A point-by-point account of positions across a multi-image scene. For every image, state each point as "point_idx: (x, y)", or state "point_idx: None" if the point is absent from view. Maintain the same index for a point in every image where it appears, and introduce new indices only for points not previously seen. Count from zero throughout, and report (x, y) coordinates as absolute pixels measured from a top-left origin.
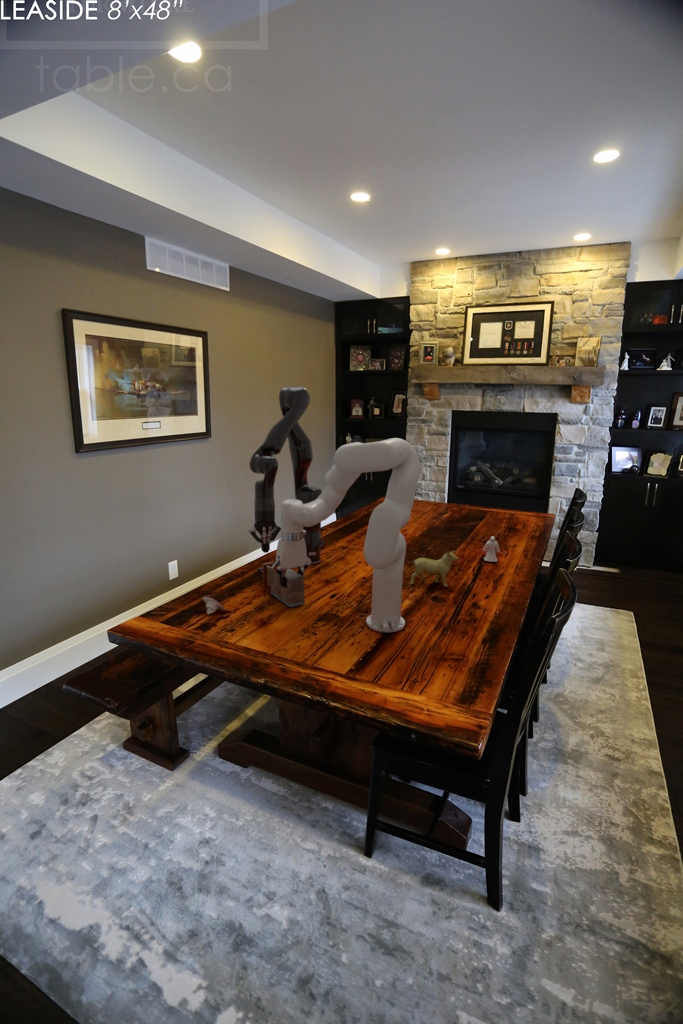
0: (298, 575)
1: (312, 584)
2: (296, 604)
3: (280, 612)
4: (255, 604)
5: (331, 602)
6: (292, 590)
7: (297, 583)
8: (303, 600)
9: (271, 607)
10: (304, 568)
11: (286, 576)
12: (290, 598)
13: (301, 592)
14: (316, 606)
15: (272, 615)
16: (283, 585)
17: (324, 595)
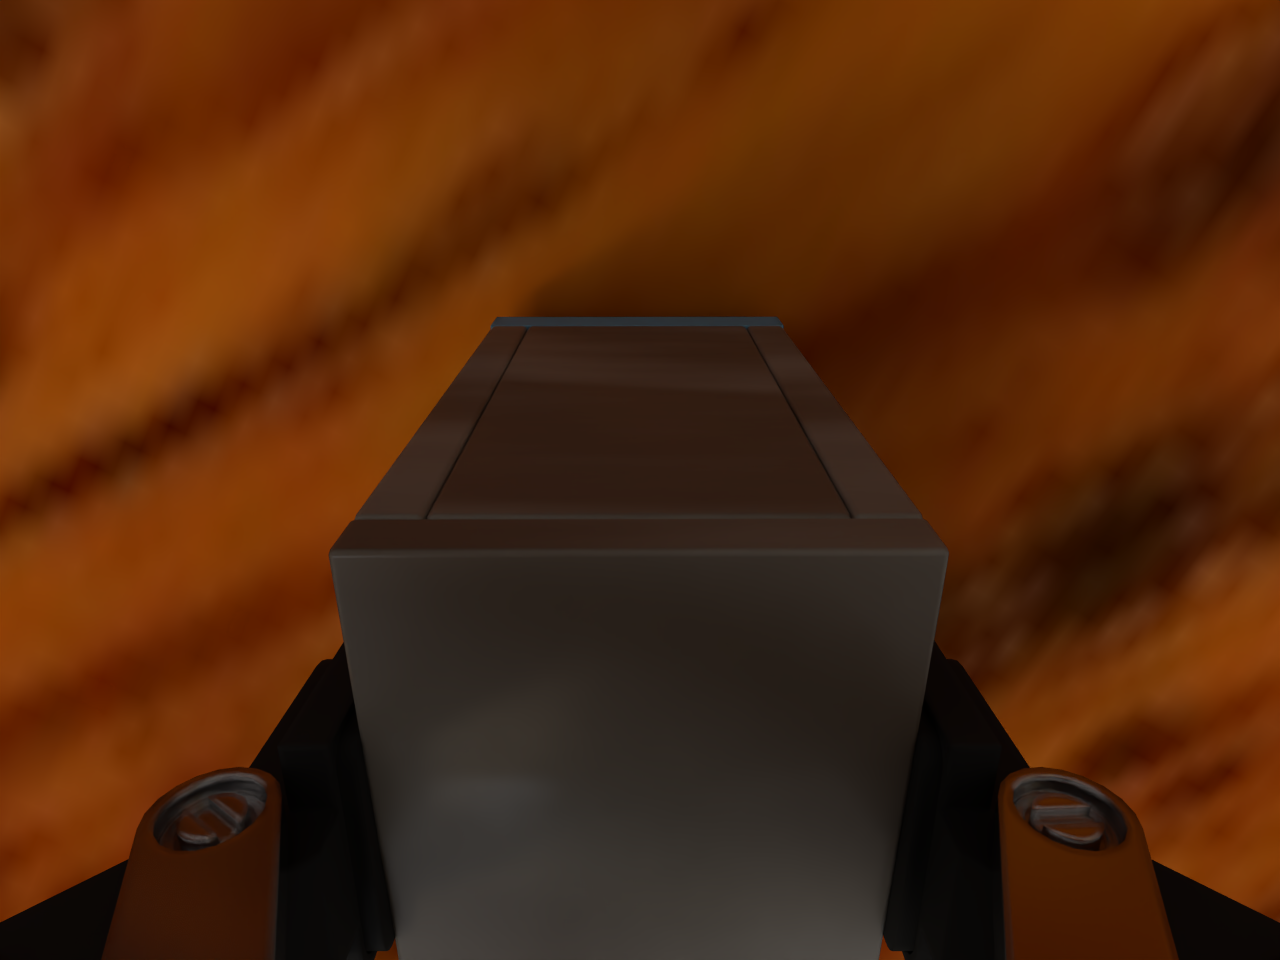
0: (465, 723)
1: (106, 861)
2: (654, 320)
3: (962, 278)
4: (1085, 686)
5: (22, 176)
6: (762, 409)
7: (616, 466)
8: (507, 333)
9: (969, 503)
10: (91, 944)
11: (844, 824)
12: (789, 357)
13: (526, 376)
14: (335, 169)
15: (1125, 244)
16: None
17: (54, 481)
